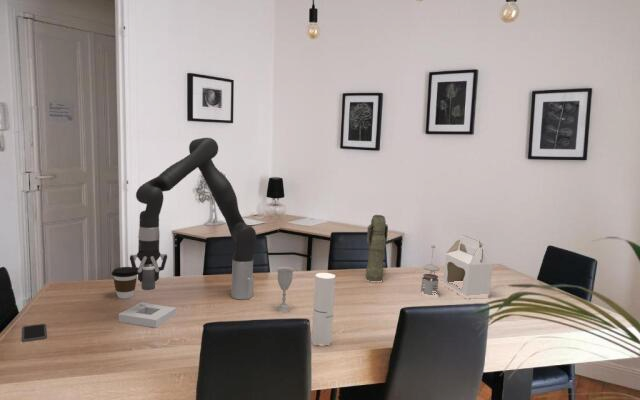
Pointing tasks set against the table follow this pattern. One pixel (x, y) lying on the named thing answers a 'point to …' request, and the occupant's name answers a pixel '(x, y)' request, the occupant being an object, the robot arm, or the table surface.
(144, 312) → the plate
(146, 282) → the lens
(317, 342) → the cylindrical container
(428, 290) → the french press
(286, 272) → the chalice
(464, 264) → the gable box
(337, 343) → the table surface
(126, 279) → the coffee cup
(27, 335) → the cell phone
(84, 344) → the table surface
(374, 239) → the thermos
